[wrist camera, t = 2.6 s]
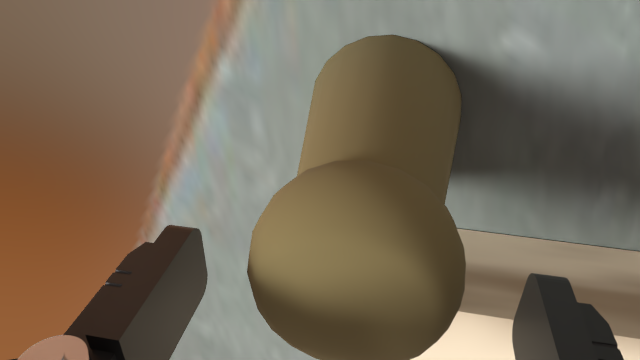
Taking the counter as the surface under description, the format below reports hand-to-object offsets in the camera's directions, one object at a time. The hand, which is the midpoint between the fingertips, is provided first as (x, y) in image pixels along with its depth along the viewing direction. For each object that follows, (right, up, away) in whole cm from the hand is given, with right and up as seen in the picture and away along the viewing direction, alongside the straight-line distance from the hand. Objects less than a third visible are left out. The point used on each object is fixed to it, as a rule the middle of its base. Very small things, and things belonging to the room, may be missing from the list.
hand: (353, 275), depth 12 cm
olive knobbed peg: (+2, +5, +8) cm, 10 cm away
